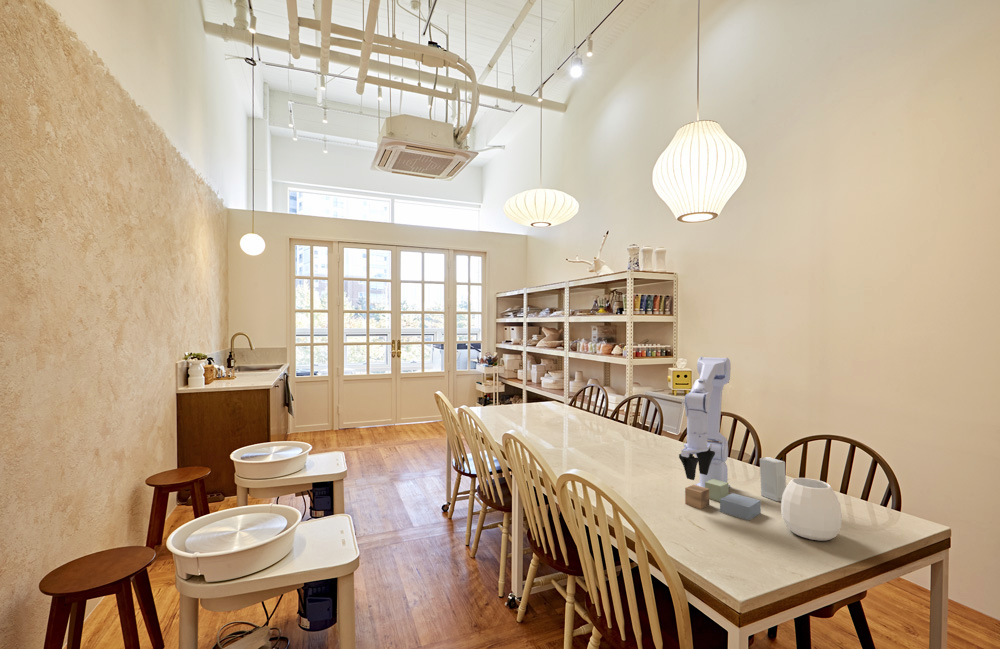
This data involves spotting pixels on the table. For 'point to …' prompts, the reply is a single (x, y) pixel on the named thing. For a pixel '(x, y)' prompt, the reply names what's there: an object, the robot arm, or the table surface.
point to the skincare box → (772, 478)
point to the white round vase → (811, 509)
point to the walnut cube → (697, 496)
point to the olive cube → (717, 489)
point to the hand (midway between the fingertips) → (697, 476)
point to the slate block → (740, 506)
